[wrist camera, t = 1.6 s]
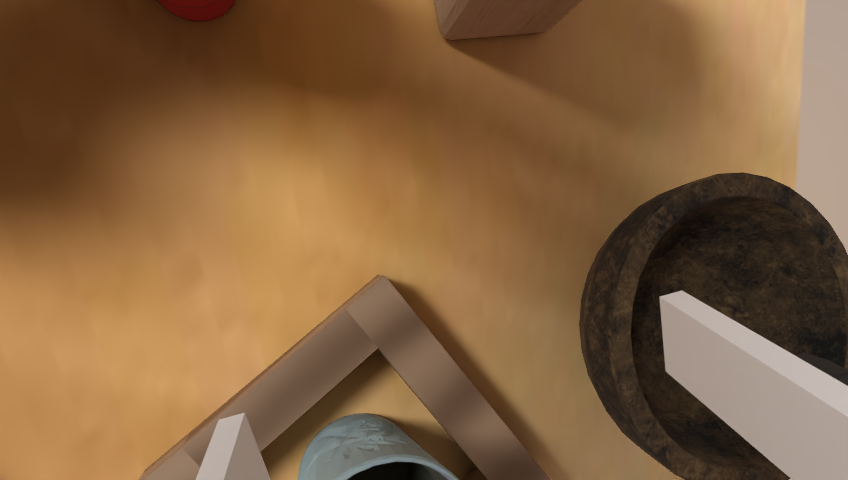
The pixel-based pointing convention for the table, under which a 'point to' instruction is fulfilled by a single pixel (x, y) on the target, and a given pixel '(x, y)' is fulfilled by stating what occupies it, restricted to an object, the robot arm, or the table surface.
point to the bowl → (721, 290)
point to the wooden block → (498, 16)
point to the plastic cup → (198, 8)
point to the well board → (338, 356)
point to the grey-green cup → (368, 453)
